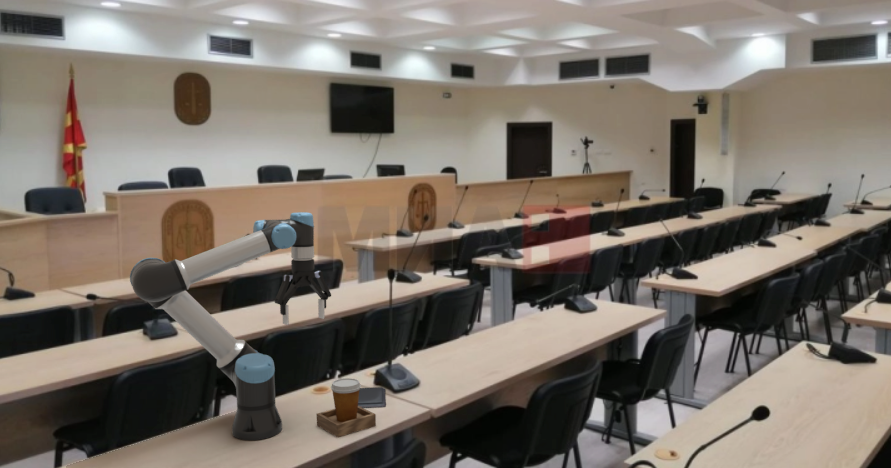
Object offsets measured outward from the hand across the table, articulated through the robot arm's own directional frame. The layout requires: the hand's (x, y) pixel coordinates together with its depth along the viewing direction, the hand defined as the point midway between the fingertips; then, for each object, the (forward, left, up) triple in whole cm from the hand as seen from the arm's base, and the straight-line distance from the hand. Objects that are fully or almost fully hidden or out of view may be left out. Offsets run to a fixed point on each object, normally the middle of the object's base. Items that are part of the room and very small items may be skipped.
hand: (304, 321), depth 243 cm
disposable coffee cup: (+2, -22, -28) cm, 36 cm away
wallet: (+20, -5, -31) cm, 37 cm away
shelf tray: (+1, -23, -30) cm, 38 cm away
